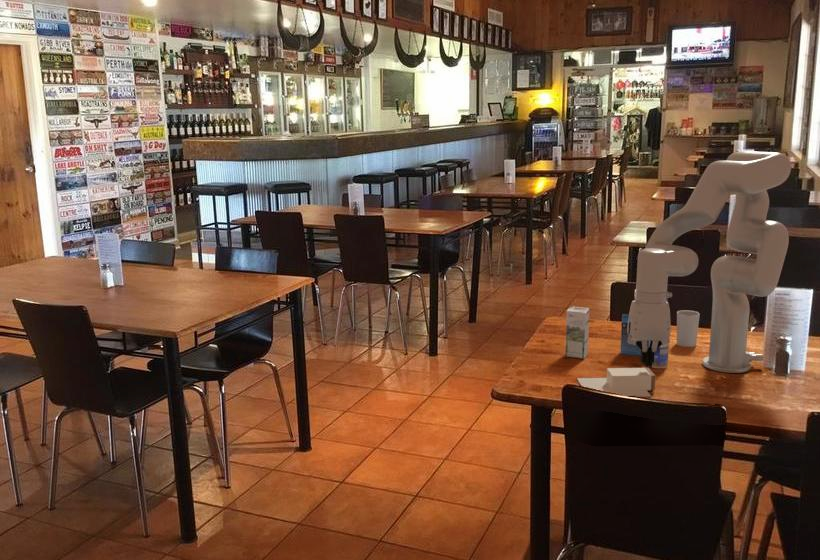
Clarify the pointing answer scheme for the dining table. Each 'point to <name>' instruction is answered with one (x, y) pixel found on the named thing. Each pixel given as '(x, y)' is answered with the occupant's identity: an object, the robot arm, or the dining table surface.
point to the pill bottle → (661, 357)
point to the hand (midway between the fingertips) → (647, 365)
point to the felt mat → (603, 386)
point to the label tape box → (625, 346)
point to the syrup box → (577, 332)
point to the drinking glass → (687, 328)
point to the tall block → (630, 379)
